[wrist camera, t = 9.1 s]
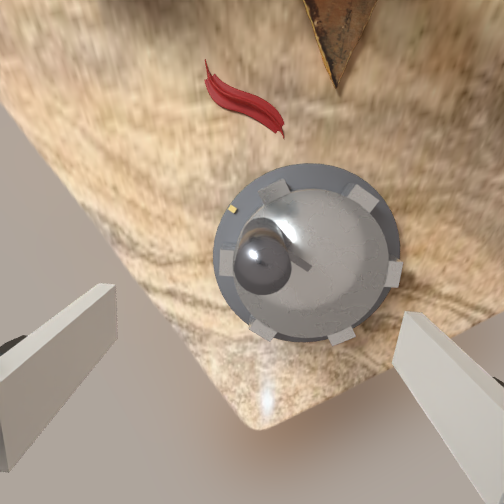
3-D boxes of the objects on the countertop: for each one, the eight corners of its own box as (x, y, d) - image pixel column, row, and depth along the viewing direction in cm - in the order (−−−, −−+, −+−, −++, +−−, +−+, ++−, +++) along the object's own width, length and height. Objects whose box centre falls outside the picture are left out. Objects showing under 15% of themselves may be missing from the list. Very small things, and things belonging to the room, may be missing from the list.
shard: (332, 92, 33) (337, 87, 31) (267, 59, 32) (267, 53, 30) (386, -22, 30) (393, -33, 28) (315, -60, 29) (318, -74, 27)
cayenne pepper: (189, 71, 32) (185, 65, 31) (223, 38, 31) (220, 31, 30) (262, 163, 35) (262, 163, 33) (294, 135, 34) (296, 133, 32)
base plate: (221, 155, 34) (218, 154, 32) (410, 172, 34) (421, 173, 32) (210, 325, 40) (207, 335, 37) (373, 340, 40) (380, 351, 37)
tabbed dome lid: (196, 283, 36) (162, 346, 23) (290, 141, 31) (310, 123, 19) (318, 358, 38) (347, 453, 25) (422, 235, 34) (518, 276, 21)
